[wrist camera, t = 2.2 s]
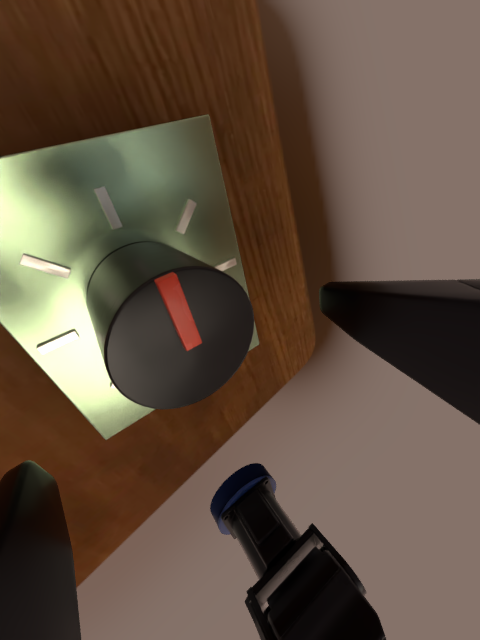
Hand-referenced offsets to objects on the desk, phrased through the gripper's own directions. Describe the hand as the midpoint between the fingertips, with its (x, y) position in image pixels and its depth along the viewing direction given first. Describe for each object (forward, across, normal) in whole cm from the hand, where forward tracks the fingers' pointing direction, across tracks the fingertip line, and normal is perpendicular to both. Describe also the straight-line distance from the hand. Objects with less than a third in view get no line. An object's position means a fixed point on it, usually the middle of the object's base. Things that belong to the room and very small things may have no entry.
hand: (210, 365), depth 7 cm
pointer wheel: (+6, 0, 0) cm, 6 cm away
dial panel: (+9, 0, 0) cm, 9 cm away
